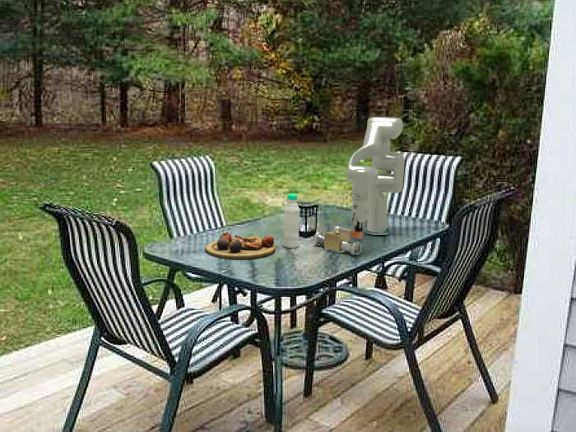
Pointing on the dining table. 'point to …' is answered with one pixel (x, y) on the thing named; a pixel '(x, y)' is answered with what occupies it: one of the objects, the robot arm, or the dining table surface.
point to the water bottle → (291, 222)
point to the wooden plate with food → (241, 247)
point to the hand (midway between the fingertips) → (358, 236)
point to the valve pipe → (337, 242)
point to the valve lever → (348, 232)
